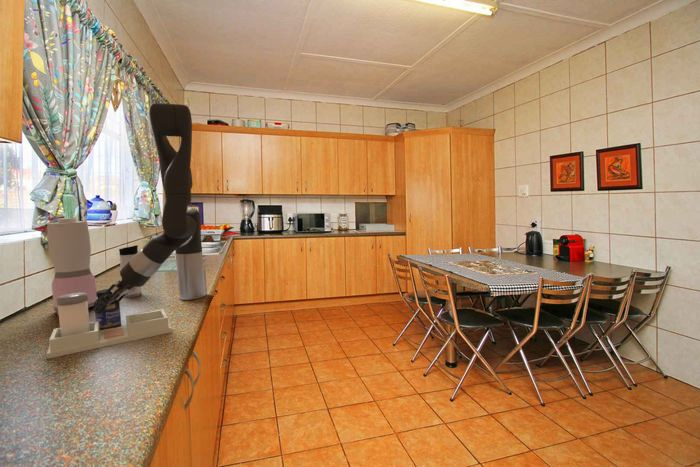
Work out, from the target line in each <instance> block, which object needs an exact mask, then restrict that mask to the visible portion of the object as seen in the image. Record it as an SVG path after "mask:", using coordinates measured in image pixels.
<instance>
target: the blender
mask: <svg viewBox="0 0 700 467" xmlns="http://www.w3.org/2000/svg"><path fill="white" fill-rule="evenodd" d="M88 224H89V223H88V222H87V220H85V221H81V220H79V221H78V219H77V217H64V218H62V217H61V218H57V222H49V223H47V224H46V229H47V230H46V232H47V242H48V251H49V256H50V260H51V262H52V266H53V268H54V277H53V279H52V281H51V291H52V301H53V311H54V312H56V315H57V316H59V313H58V305H57V300H56V298H57V297H59V296H62V295H66V294H72V293H87V299H88V300H87V303H88V308H91V307H95V306H94V302H95V301H96V300H97V299H98V297H97V296H96V292H97V291H98V290H97V282H96V278H95V276H94V273H92V271H91V268H90V266H91V265H90V264H91V255H92V252H91V251H92V248H91V237H90V230H89V225H88Z"/></svg>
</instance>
